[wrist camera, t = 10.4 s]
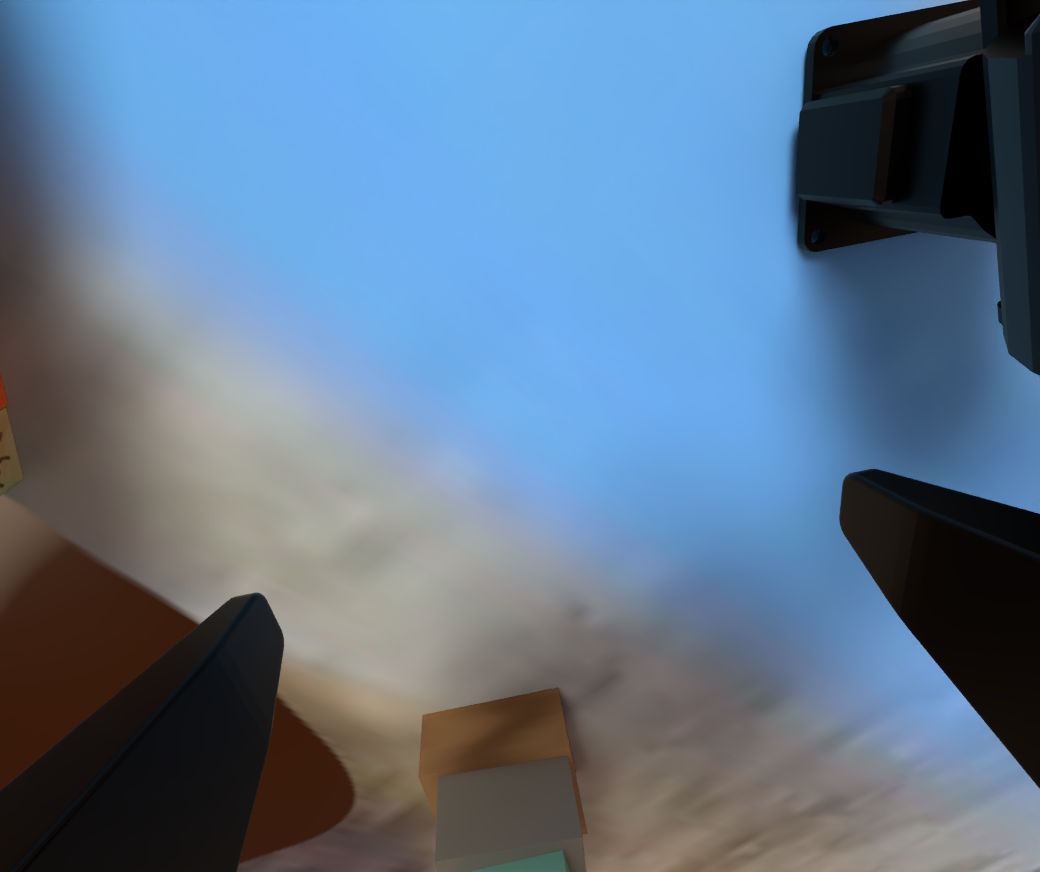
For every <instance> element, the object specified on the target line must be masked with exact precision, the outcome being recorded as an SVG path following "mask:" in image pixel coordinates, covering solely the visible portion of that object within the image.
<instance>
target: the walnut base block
mask: <svg viewBox="0 0 1040 872" xmlns="http://www.w3.org/2000/svg"><path fill="white" fill-rule="evenodd" d="M561 756H568V761H569V766H570V771H571V777H572V782H573V788H574V793H575V799H576V804H577V810H578V815H579V821H580V826H581V831H582V834H587V830H586V825H585V820H584V815H583V809H582V804H581V799H580V794H579V789H578V783H577V778H576V773H575V768H574V763H573V758H572V753H571V748H570V744H569V739H568V734H567V729H566V724H565V719H564V714H563V709H562V705H561V700H560V695H559V690H558V688H553V689H548V690H544V691H539V692H534V693H529V694H524V695H519V696H514V697H509V698H504V699H499V700H494V701H490V702H485V703H480V704H475V705H470V706H465V707H460V708H455V709H450V710H445V711H440V712H436V713H431V714H426V715H423V719H422V734H421V749H420V764H419V779H420V782H421V784H422V787H423V789H424V792H425V794H426V797H427V799H428V802H429V804H430V806H431V809H432V811H433V814H434V816H435V819H436V821H437V797H438V777H440V776H446V775H452V774H458V773H464V772H470V771H476V770H482V769H488V768H494V767H500V766H507V765H513V764H519V763H525V762H531V761H537V760H543V759H549V758H555V757H561Z"/></svg>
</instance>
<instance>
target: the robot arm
mask: <svg viewBox="0 0 1040 872" xmlns="http://www.w3.org/2000/svg"><path fill="white" fill-rule="evenodd" d="M826 39H827V40H828V41H829V42H830V45H831V49H830V52H829V54H828V55H827V56H825V55H824V54H823V52H822V46H823V43H824V41H825V40H826ZM796 193H797V194H798V195H799V196H800V205H799V227H798V242H799V245H800V246H801V248H803V249H805V250H807V251H812V252H819V251H824V250H829V249H834V248H839V247H844V246H849V245H854V244H859V243H865V242H870V241H875V240H880V239H885V238H890V237H895V236H900V235H905V234H910V233H915V232H923V233H930V234H937V235H944V236H951V237H958V238H965V239H972V240H979V241H986V242H993V243H996V245H997V258H998V272H999V285H1000V298H1001V301H999V302H998V304H997V307H998V319H999V323H1001V324H1002V325H1003V335H1004V339H1005V342H1006V346H1007V349H1008V353H1009V354H1010V355H1011V356H1012V357H1014V358H1015V359H1016V360H1018V361H1019V362H1020V363H1021V364H1023V365H1024V366H1025V367H1027V368H1028V369H1029V370H1030V371H1032V372H1033V373H1036V374H1038V375H1040V0H967V1H962V2H957V3H952V4H947V5H941V6H936V7H931V8H926V9H920V10H915V11H910V12H905V13H900V14H894V15H889V16H884V17H879V18H874V19H868V20H863V21H858V22H853V23H848V24H842V25H837V26H832V27H829V28H826V29H824V30H821V31H819V32H817V33H816V34H815V35H814V36H813V37H812V38H811V40H810V42H809V44H808V48H807V56H806V77H805V98H804V107H803V108H802V110H801V111H800V117H799V139H798V162H797V185H796ZM816 230H818V231H819V236H818V239H817V240H816V241H815V242H813V243H812V240H811V237H812V234H813V233H814V231H816ZM839 520H840V526H841V529H842V531H843V533H844V535H845V537H846V538H847V540H848V541H849V543H850V544H851V546H852V547H853V549H854V550H855V552H856V553H857V555H858V556H859V558H860V559H861V561H862V562H863V564H864V565H865V567H866V568H867V570H868V571H869V573H870V574H871V576H872V577H873V579H874V580H875V582H876V583H877V585H878V586H879V588H880V589H881V591H882V593H883V594H884V596H885V597H886V599H887V600H888V602H889V603H890V604H891V606H892V607H893V609H894V610H895V611H896V613H897V614H898V616H899V617H900V618H901V620H902V621H903V622H904V623H905V625H906V626H907V627H908V629H909V630H910V631H911V632H912V634H913V635H914V636H915V637H916V638H917V640H918V641H919V642H920V643H921V645H922V646H923V647H924V648H925V649H926V651H927V652H928V653H929V654H930V656H931V657H932V658H933V659H934V660H935V662H936V663H937V664H938V665H939V667H940V668H941V669H942V670H943V671H944V673H945V674H946V675H947V676H948V678H949V679H950V680H951V681H952V682H953V684H954V685H955V686H956V687H957V688H958V690H959V691H960V692H961V693H962V695H963V696H964V697H965V698H966V699H967V701H968V702H969V703H970V704H971V706H972V707H973V708H974V709H975V710H976V712H977V713H978V714H979V715H980V717H981V718H982V719H983V720H984V721H985V723H986V724H987V725H988V726H989V727H990V729H991V730H992V731H993V732H994V734H995V735H996V736H997V737H998V738H999V740H1000V741H1001V742H1002V743H1003V745H1004V746H1005V747H1006V748H1007V749H1008V751H1009V752H1010V753H1011V754H1012V756H1013V757H1014V758H1015V759H1016V760H1017V762H1018V763H1019V764H1020V765H1021V766H1022V768H1023V769H1024V770H1025V771H1026V773H1027V774H1028V775H1029V776H1030V777H1031V779H1032V780H1033V781H1034V782H1035V784H1036V785H1037V786H1038V787H1039V788H1040V514H1038V513H1035V512H1031V511H1027V510H1024V509H1020V508H1017V507H1013V506H1009V505H1006V504H1002V503H998V502H995V501H991V500H987V499H984V498H980V497H976V496H973V495H969V494H965V493H962V492H958V491H955V490H951V489H947V488H944V487H940V486H936V485H933V484H929V483H925V482H922V481H918V480H914V479H911V478H907V477H903V476H900V475H896V474H893V473H889V472H885V471H882V470H878V469H869V470H864V471H859V472H854V473H850V474H848V475H847V476H846V477H845V478H844V480H843V486H842V496H841V506H840V516H839ZM283 650H284V638H283V633H282V630H281V628H280V626H279V624H278V622H277V620H276V618H275V616H274V614H273V612H272V610H271V608H270V606H269V604H268V601H267V600H266V598H265V597H264V596H263V595H262V594H260V593H251V594H246V595H241V596H237V597H233V598H231V599H230V600H228V601H227V602H226V603H225V604H223V605H222V606H221V607H220V608H219V609H217V610H216V611H215V612H214V613H213V614H211V615H210V616H209V617H208V618H207V619H205V620H204V621H203V622H202V623H201V624H199V625H198V626H197V627H196V628H195V629H194V630H192V631H191V632H190V633H189V634H188V635H186V636H185V637H184V638H183V639H181V640H180V641H179V642H178V643H177V644H175V646H173V647H172V648H171V649H170V650H168V651H167V652H166V653H165V654H163V655H162V656H161V657H160V658H159V659H157V660H156V661H155V662H154V663H153V664H151V665H150V666H149V667H148V668H147V669H145V670H144V671H143V672H142V673H141V674H139V675H138V676H137V677H136V678H135V679H133V680H132V681H131V682H130V683H129V684H127V685H126V686H125V687H124V688H123V689H122V690H120V691H119V692H118V693H117V694H115V695H114V696H113V697H112V698H111V699H109V700H108V701H107V702H106V703H105V704H103V705H102V706H101V707H100V708H99V709H97V710H96V711H95V712H94V713H93V714H91V715H90V716H89V717H88V718H87V719H85V720H84V721H83V722H82V723H81V724H79V725H78V726H77V727H76V728H75V729H73V730H72V731H71V732H70V733H69V734H67V735H66V736H65V737H64V738H63V739H62V740H60V741H59V742H58V743H57V744H55V745H54V746H53V747H52V748H51V749H49V750H48V751H47V752H46V753H45V754H43V755H42V756H41V757H40V758H39V759H37V760H36V761H35V762H34V763H33V764H31V765H30V766H29V767H28V768H27V769H25V770H24V771H23V772H22V773H21V774H19V775H18V776H17V777H16V778H15V779H13V780H12V781H11V782H10V783H9V784H7V785H6V786H5V787H4V788H3V789H1V790H0V872H237V868H238V865H239V861H240V857H241V853H242V849H243V845H244V841H245V837H246V834H247V830H248V826H249V822H250V818H251V814H252V810H253V806H254V803H255V799H256V795H257V791H258V787H259V783H260V779H261V776H262V771H263V767H264V764H265V759H266V755H267V751H268V747H269V741H270V736H271V731H272V724H273V717H274V711H275V704H276V697H277V690H278V684H279V677H280V670H281V663H282V657H283Z"/></svg>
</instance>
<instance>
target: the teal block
mask: <svg viewBox="0 0 1040 872" xmlns="http://www.w3.org/2000/svg"><path fill="white" fill-rule="evenodd" d="M471 872H570V870H569V867H568V864H567V861H566V858H565V855H564V852H563V850H561V851H557V852H552V853H548V854H544V855H540V856H535V857H531V858H527V859H522V860H518V861H514V862H510V863H505V864H501V865H497V866H492V867H488V868H484V869H480V870H475V871H471Z"/></svg>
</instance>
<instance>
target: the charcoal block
mask: <svg viewBox="0 0 1040 872" xmlns="http://www.w3.org/2000/svg"><path fill="white" fill-rule="evenodd" d="M561 850H563V852H564V855H565V858H566V861H567V864H568V867H569V870H570V872H586V867H585V857H584V847H583V837H582V831H581V826H580V821H579V815H578V810H577V804H576V799H575V793H574V788H573V782H572V777H571V771H570V766H569V761H568V756H561V757H555V758H549V759H543V760H537V761H531V762H525V763H519V764H513V765H507V766H500V767H494V768H488V769H482V770H476V771H470V772H464V773H458V774H452V775H446V776H440V777H438V797H437V826H436V856H435V863H436V866H437V869H438V872H471V871H475V870H480V869H484V868H488V867H492V866H497V865H501V864H505V863H510V862H514V861H518V860H522V859H527V858H531V857H535V856H540V855H544V854H548V853H552V852H557V851H561Z"/></svg>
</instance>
